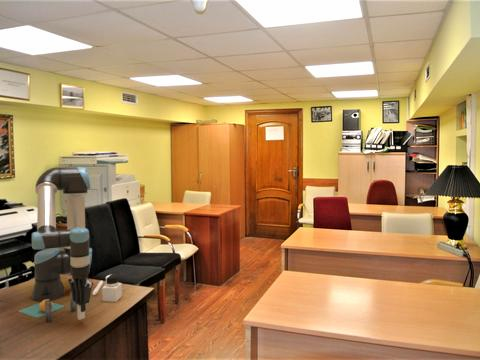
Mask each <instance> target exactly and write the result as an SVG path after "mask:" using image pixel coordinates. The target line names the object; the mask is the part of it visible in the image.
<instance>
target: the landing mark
mask: <svg viewBox="0 0 480 360" xmlns="http://www.w3.org/2000/svg"><path fill="white" fill-rule="evenodd" d="M41 302H42V301H39V302H38V303H36V304H33V305H30V306H28V307H24V308H22V309H19V310H18V311H17V312H19V313H21V314H24V315H27V316H29V317H32V318H35V319H39V318H42V317H43V316H44V317H45V312H43V311H41V310H40V303H41ZM52 303H53V307H52V313H53V312H55V311H58V310H61V309H63V308H65V305H62V304H59V303H54V302H52Z"/></svg>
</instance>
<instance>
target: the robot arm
mask: <svg viewBox="0 0 480 360" xmlns="http://www.w3.org/2000/svg"><path fill="white" fill-rule="evenodd" d="M89 190H91V180H90V175H89V172H88V169H87V168H86V167H81V166H76V167H75V166H71V167H69V166H68V167H51V168H49V169H46V170H45V171H44V172H43V173H42V174H41V175H40V176H39V177H38V178H37V180H36V183H35V190H34V191H35V193H36V195H37V222H36V223H37V224H36V231H34V232H32V233H31V247H32V249H33V250H39V251H37V252H36V253H35V254H34V257H33V258H34V262H33V265H34V284H33V288H32V291H31V294H30V295H31V300H33V301H37V302H42V301H43V300H46V299H49V300H51V301H53V300H56V299H60V298H61V297H63V296H64V295H65V294H66V291H65V290H66V289H65V286H64V283H63V281H62V278H61V277H62V275H65V274H70V275H71V276H72V277H71V278H69V279H68V284H69V287H70V292H71V293H72V298H73V301H75V302H76V304H77V311H76V312H77V320H79V321H80V320H83V319H85V318H86V310H87V308H86V304H89V303H90V300H91V295H92V288H93V286H94V282H93V281H90V278H89V274H90V273H91V266H92V265H91V264H92V258H93V257H92V256H93V248H92V247H90V231H89V229H88V228H86V210H85V209H86V208H85V207H86V206H85V205H86V204H85V203H86V202H85V201H86V200H85V197H86V195H87V194H88V191H89ZM58 191H62V195H64V196H65V198H66V226H67V227H66V228H67V229H61V230H60V229H59V230H57V220H56V219H57V214H56V210H57V209H56V194H57V193H58ZM60 248H64V250H61V249H60ZM75 297H76V298H75Z"/></svg>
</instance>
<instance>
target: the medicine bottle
mask: <svg viewBox="0 0 480 360" xmlns="http://www.w3.org/2000/svg"><path fill="white" fill-rule="evenodd" d="M101 288H102V289H101V291H102V292H101V293H102V295H101V296H102V302H106V303H107V302H111V303H116V302H118V301H119V299H121V298H122V297H123V289H122V288H123V283H122V282H119V275H117V274H116V273H115V274H109V275H107V276H105V284H104V286H101Z"/></svg>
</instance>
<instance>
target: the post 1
mask: <svg viewBox="0 0 480 360" xmlns="http://www.w3.org/2000/svg"><path fill="white" fill-rule="evenodd" d="M52 303H53V300H47V301H45V315H44V317H45V323H48V324H49V323H52V322H53V312H52Z"/></svg>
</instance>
